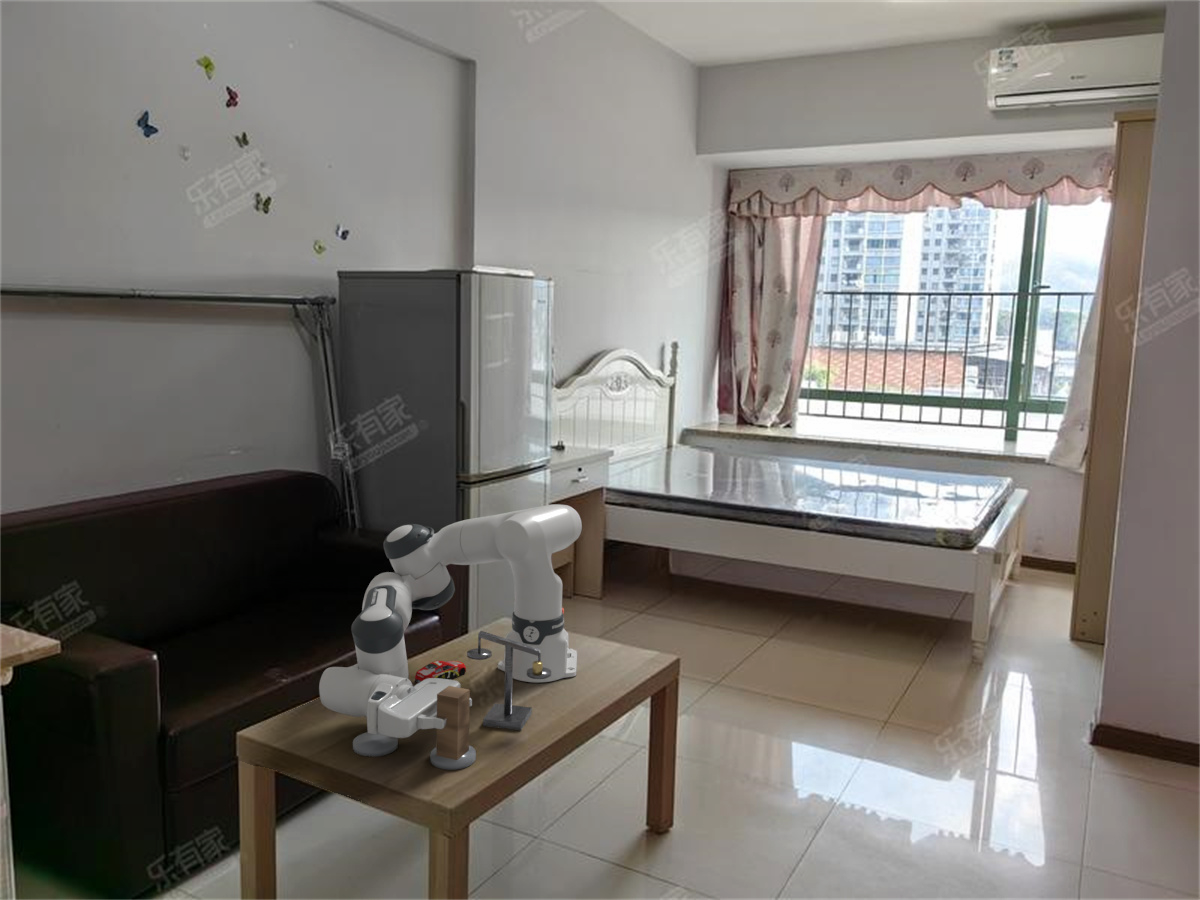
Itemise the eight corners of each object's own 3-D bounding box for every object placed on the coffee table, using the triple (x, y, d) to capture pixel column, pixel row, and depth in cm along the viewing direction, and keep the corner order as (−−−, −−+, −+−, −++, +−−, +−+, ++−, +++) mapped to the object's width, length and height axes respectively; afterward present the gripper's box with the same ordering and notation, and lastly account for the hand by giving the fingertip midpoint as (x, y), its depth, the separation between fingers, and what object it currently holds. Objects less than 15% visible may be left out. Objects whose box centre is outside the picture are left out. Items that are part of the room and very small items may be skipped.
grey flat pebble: (439, 746, 181) (439, 740, 180) (481, 751, 179) (481, 745, 179) (423, 766, 172) (423, 760, 172) (467, 772, 171) (467, 766, 171)
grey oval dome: (364, 734, 184) (364, 728, 184) (404, 739, 183) (404, 733, 183) (345, 753, 176) (345, 747, 176) (387, 759, 175) (387, 753, 175)
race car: (455, 668, 221) (455, 651, 221) (470, 674, 218) (471, 657, 217) (410, 683, 211) (410, 666, 211) (426, 689, 208) (426, 672, 207)
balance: (472, 707, 199) (474, 624, 196) (554, 716, 196) (556, 632, 193) (460, 723, 191) (461, 636, 188) (544, 733, 188) (547, 645, 185)
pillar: (448, 745, 178) (449, 685, 177) (468, 750, 177) (469, 689, 175) (436, 755, 174) (436, 694, 173) (457, 760, 173) (458, 698, 171)
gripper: (422, 696, 189) (483, 708, 184) (362, 737, 170) (429, 752, 165) (423, 666, 188) (484, 677, 183) (362, 704, 169) (429, 718, 164)
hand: (457, 713), depth 174 cm, fingers open, 8 cm apart
